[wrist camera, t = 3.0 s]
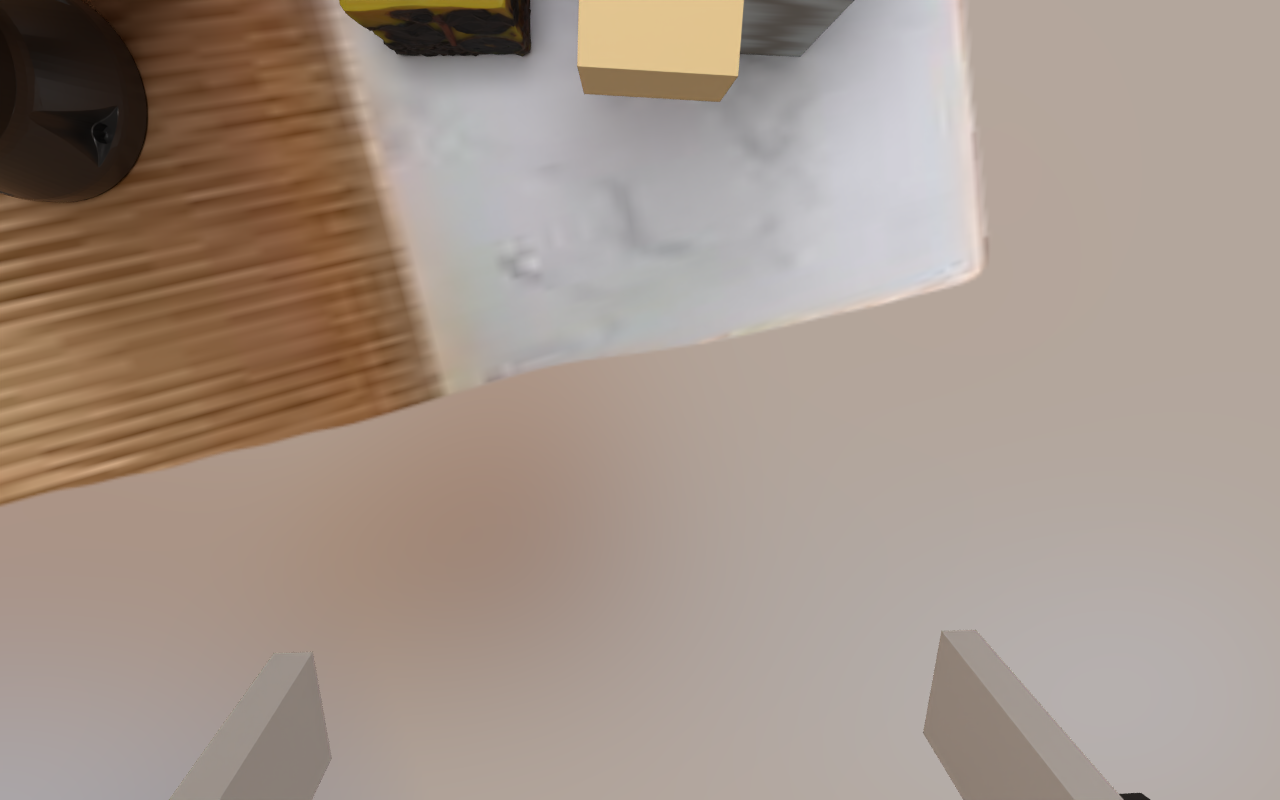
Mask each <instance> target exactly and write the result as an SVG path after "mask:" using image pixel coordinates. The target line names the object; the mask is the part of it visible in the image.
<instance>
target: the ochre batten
mask: <svg viewBox="0 0 1280 800" xmlns="http://www.w3.org/2000/svg"><path fill="white" fill-rule="evenodd" d="M743 5H744V0H579V19H578V62H577V67H578V71H579V75H580V79H581V83H582V87H583V91H584V94H596V95H613V96H630V97H646V98H663V99H680V100H697V101H714V102H720V101H721V100H722V98H723V97H724V95H725V94H726V92H727V91H728V90H729V88H730V87H731V85H732V84H733V82H734V81H735V80H736V78H737V77H738V69H739V57H740V44H741V31H742V18H743Z"/></svg>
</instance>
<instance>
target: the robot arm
mask: <svg viewBox="0 0 1280 800" xmlns="http://www.w3.org/2000/svg"><path fill="white" fill-rule="evenodd" d="M146 120H147V110H146V100H145V93H144V89H143V85H142V81H141V78H140V75H139V72H138V69H137V67H136V65H135V62H134V60H133V58H132V56H131V54H130V53H129V51H128V49H127V47H126V46H125V44H124V43H123V41H122V40H121V38H120V37H119V36H118V34H117V33H116V32H115V30H114V29H113V28H112V27H111V26H110V25H109V24H108V23H107V22H106V21H105V19H104V18H103V17H102V16H100V15H99V14H98V13H97V12H96V11H95V10H94V9H92V8H91V7H90V6H89V5H87V4H86V3H84V2H83V1H81V0H0V193H1V194H4V195H8V196H12V197H16V198H21V199H26V200H36V201H49V202H74V201H80V200H85V199H89V198H92V197H95V196H97V195H99V194H101V193H103V192H105V191H107V190H109V189H110V188H112V187H113V186H114V185H116V184H117V183H118V182H119V181H120V180H121V179H122V178H123V177H124V176H125V175H126V174H127V173H128V171H129V170H130V169H131V167H132V166H133V164H134V163H135V161H136V159H137V157H138V155H139V152H140V150H141V147H142V144H143V141H144V136H145V130H146ZM923 733H924V735H925V737H926V739H927V740H928V742H929V743H930V745H931V747H932V748H933V750H934V752H935V753H936V755H937V757H938V758H939V760H940V762H941V763H942V765H943V767H944V768H945V770H946V772H947V773H948V775H949V777H950V778H951V780H952V782H953V783H954V785H955V787H956V788H957V790H958V792H959V793H960V795H961V796H962V798H963V800H1150V799H1149V798H1147V797H1146V796H1144V795H1143V794H1142V793H1128V794H1118V793H1117V792H1116V790H1114V788H1113V787H1112V786H1111V785H1110V783H1109V782H1108V781H1107V780H1106V779H1105V778H1104V777H1103V776H1102V774H1101V773H1100V772H1099V771H1098V770H1097V769H1096V767H1095V766H1094V765H1093V764H1092V763H1091V762H1090V760H1089V759H1088V758H1087V757H1086V756H1085V755H1084V754H1083V752H1082V751H1081V750H1080V749H1079V748H1078V747H1077V746H1076V744H1075V743H1074V742H1073V741H1072V740H1071V739H1070V737H1069V736H1068V735H1067V734H1066V733H1065V732H1064V731H1063V729H1062V728H1061V727H1060V726H1059V725H1058V724H1057V723H1056V721H1055V720H1054V719H1053V718H1052V717H1051V716H1050V715H1049V713H1048V712H1047V711H1046V710H1045V709H1044V708H1043V706H1041V704H1040V703H1039V702H1038V701H1037V700H1036V698H1035V697H1034V696H1033V695H1032V694H1031V693H1030V691H1029V690H1028V689H1027V688H1026V687H1025V686H1024V685H1023V683H1022V682H1021V681H1020V680H1019V679H1018V678H1017V677H1016V675H1015V674H1014V673H1013V672H1012V671H1011V670H1010V668H1009V667H1008V666H1007V665H1006V664H1005V663H1004V662H1003V660H1002V659H1001V658H1000V657H999V656H998V655H997V654H996V652H995V651H994V650H993V649H992V648H991V647H990V645H989V644H988V643H987V642H986V641H985V640H984V639H983V637H982V636H981V635H980V634H979V633H978V632H977V631H976V630H957V631H941V637H940V642H939V648H938V653H937V659H936V664H935V670H934V675H933V681H932V686H931V693H930V697H929V703H928V709H927V714H926V720H925V725H924V731H923ZM330 761H331V752H330V747H329V741H328V735H327V730H326V723H325V718H324V712H323V706H322V701H321V696H320V690H319V685H318V679H317V673H316V667H315V661H314V656H313V652H292V653H274V654H273V655H272V656H271V658H270V659H269V660H268V662H267V664H266V665H265V666H264V667H263V669H262V670H261V672H260V673H259V674H258V676H257V677H256V679H255V680H254V681H253V683H252V684H251V686H250V687H249V689H248V690H247V691H246V693H245V694H244V695H243V697H242V698H241V700H240V701H239V702H238V704H237V705H236V707H235V708H234V709H233V711H232V712H231V714H230V715H229V717H228V718H227V719H226V721H225V722H224V723H223V725H222V726H221V728H220V729H219V730H218V732H217V733H216V735H215V736H214V737H213V739H212V740H211V742H210V743H209V744H208V746H207V747H206V749H205V750H204V752H203V753H202V754H201V756H200V757H199V759H198V760H197V761H196V763H195V764H194V765H193V767H192V768H191V770H190V771H189V772H188V774H187V775H186V777H185V778H184V779H183V781H182V782H181V784H180V785H179V786H178V788H177V789H176V791H175V792H174V793H173V795H172V796H171V798H170V799H169V800H312V798H313V796H314V794H315V792H316V790H317V788H318V786H319V784H320V782H321V780H322V777H323V775H324V773H325V771H326V769H327V767H328V765H329V763H330Z"/></svg>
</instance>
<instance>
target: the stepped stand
mask: <svg viewBox="0 0 1280 800" xmlns="http://www.w3.org/2000/svg"><path fill="white" fill-rule="evenodd" d="M853 1H854V0H744V5H743V18H742V31H741V44H740V54H757V55H776V56H795V57H800V56H801V55H802V54H803V53H804V52H805V51H806V50H807V49H808V48H809V47H810V46H811V45H812V44H813V43H814V42H815V41H816V39H817V38H818V37H819V36H820V35H821V34H822V33H823V32H824V31H825V30H826V29H827V28H828V27H829V26H830V25H831V24H832V23H833V22H834V21H835V20H836V19H837V18H838V17H839V16H840V15H841V13H842V12H843V11H844V10H845V9H846V8H847V7H848V6H849V5H850V4H851V3H852V2H853Z"/></svg>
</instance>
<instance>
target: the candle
mask: <svg viewBox="0 0 1280 800" xmlns="http://www.w3.org/2000/svg"><path fill="white" fill-rule="evenodd" d="M339 2H340V5H341V7H342V8H343V10H344V11H345V13H346V14H348V15H349V16H350V17H351V18H352V19H354V20H355V21H356V22H357V23H359V24H360V25H362V26H363V27H365V28H367V29H368V30H370V31H373V32H374V34H375V35H377V36H379V37H380V38H382V39H383V40H384V44H385V45H386V46H388V47H389V48H390V49H392V50H394V51H395V52H396V54H403V55H420V54H422V55H424V56H427V57H428V56H436V55H438V54H441V55H443V56H445V55H452V56H454V55H463V56H466V55H474V56H477V55H479V54H518V55H521V56H523V55H525V54H527V53H528V52H529V51H530V48H531V39H530V11H531V10H530V9H529V8H530V0H339Z"/></svg>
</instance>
